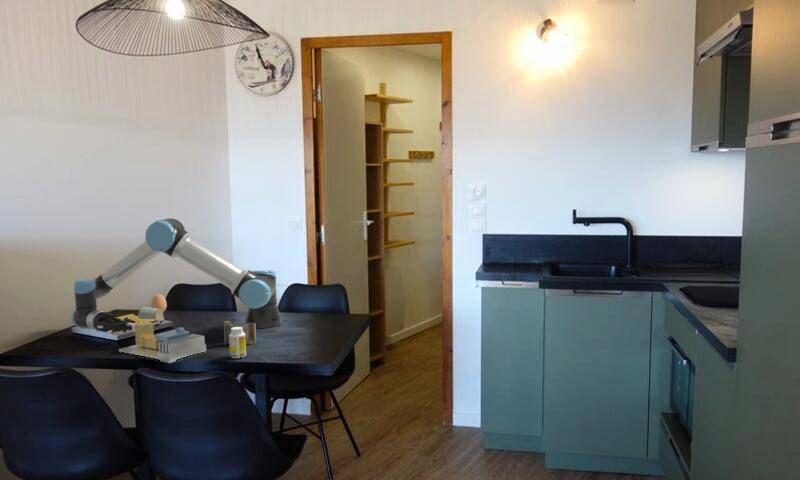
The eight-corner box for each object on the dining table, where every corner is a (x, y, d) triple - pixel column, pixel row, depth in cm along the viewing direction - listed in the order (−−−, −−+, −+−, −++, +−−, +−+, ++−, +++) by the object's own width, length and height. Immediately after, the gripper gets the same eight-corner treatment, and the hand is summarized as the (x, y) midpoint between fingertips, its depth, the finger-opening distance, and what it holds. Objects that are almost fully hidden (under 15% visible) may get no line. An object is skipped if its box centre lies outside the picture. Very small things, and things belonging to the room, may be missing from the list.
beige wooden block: (135, 345, 242) (134, 324, 241) (147, 342, 246) (146, 321, 246) (155, 349, 236) (153, 327, 235) (166, 346, 240) (165, 325, 240)
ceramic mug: (155, 327, 277) (154, 309, 276) (137, 326, 278) (137, 308, 277) (168, 321, 287) (168, 304, 286) (151, 321, 288) (151, 304, 288)
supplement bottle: (246, 353, 234) (245, 325, 233) (245, 358, 228) (244, 329, 227) (230, 354, 233) (229, 326, 232) (229, 359, 227) (228, 330, 226)
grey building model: (119, 351, 239) (117, 330, 238) (156, 341, 252) (155, 321, 251) (169, 363, 224) (168, 340, 223) (206, 351, 237) (205, 330, 236)
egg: (149, 313, 303) (148, 294, 302) (163, 311, 308) (162, 292, 307) (155, 315, 298) (154, 296, 297) (169, 313, 303) (168, 294, 302)
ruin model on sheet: (224, 346, 246) (223, 320, 245) (225, 344, 249) (224, 319, 248) (255, 345, 247) (254, 319, 246) (256, 343, 250) (255, 317, 249)
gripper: (117, 327, 262) (154, 334, 249) (86, 334, 251) (124, 342, 238) (116, 308, 261) (153, 315, 248) (85, 315, 250) (122, 322, 238)
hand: (139, 328), depth 243 cm, fingers closed
